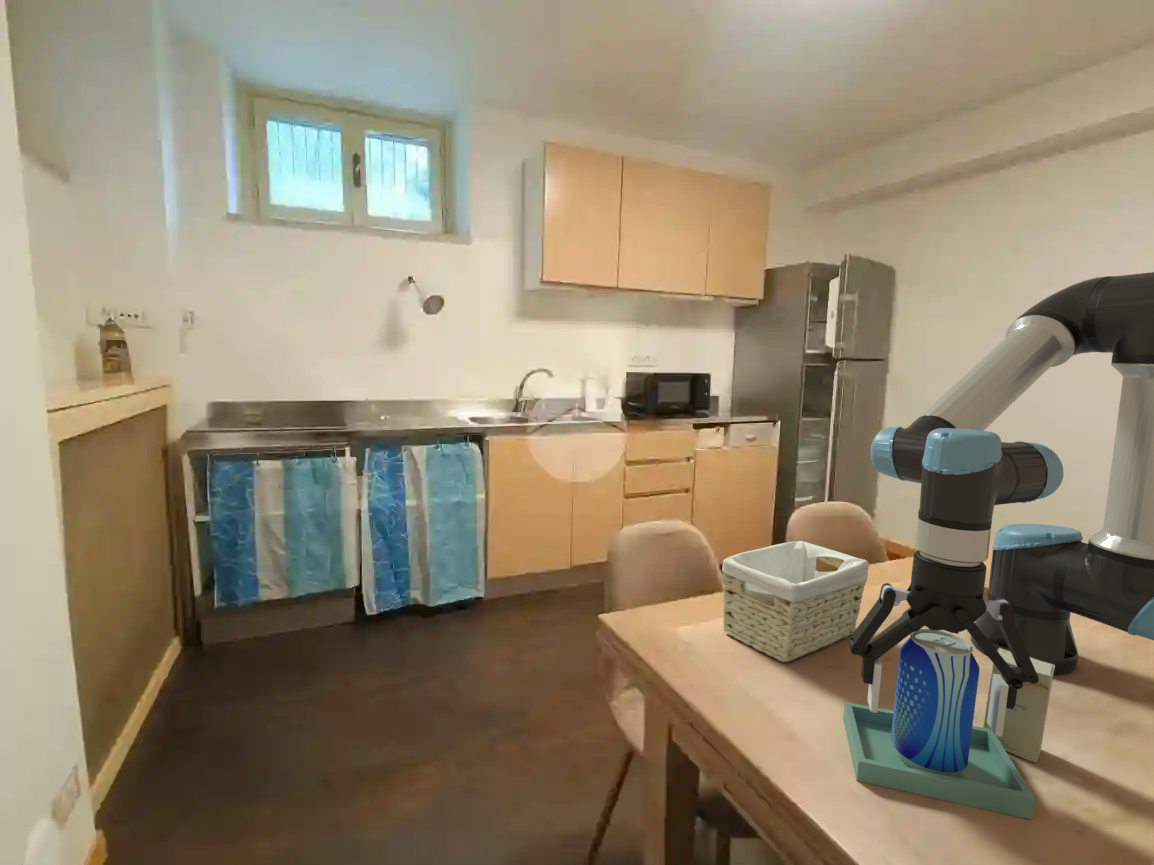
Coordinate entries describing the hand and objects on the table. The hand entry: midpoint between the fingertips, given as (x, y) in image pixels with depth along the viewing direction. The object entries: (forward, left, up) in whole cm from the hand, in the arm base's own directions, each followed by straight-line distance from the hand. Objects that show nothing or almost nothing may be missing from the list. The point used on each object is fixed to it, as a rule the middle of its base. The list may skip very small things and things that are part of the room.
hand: (931, 717), depth 73 cm
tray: (0, 0, -6) cm, 6 cm away
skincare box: (-12, -8, -7) cm, 16 cm away
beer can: (0, 0, -6) cm, 6 cm away
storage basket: (+15, -31, -7) cm, 36 cm away
